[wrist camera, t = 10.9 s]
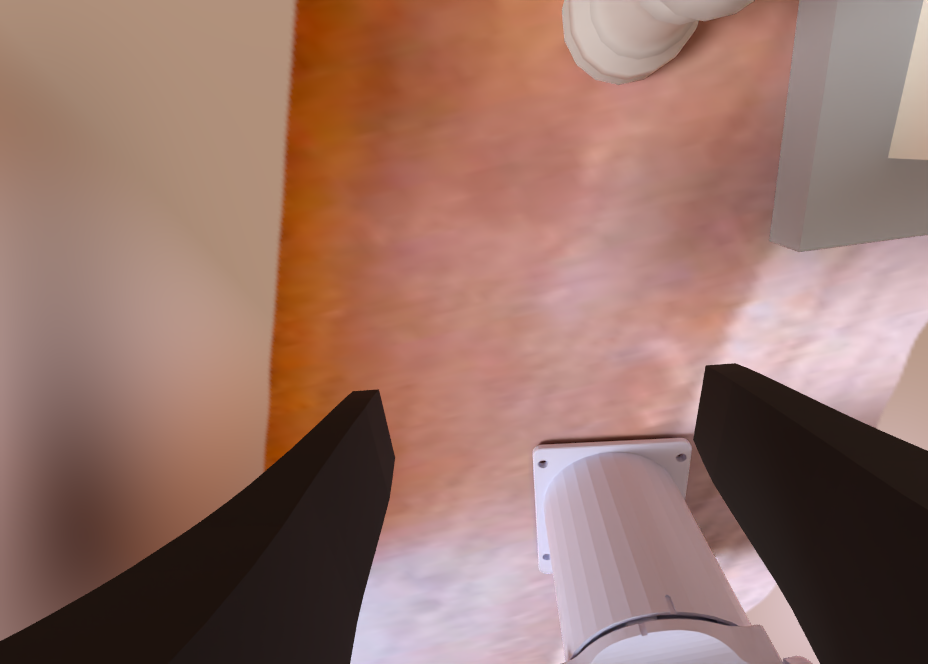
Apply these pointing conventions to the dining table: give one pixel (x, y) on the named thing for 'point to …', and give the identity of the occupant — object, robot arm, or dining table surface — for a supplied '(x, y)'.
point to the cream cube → (914, 100)
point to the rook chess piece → (634, 33)
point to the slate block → (848, 129)
